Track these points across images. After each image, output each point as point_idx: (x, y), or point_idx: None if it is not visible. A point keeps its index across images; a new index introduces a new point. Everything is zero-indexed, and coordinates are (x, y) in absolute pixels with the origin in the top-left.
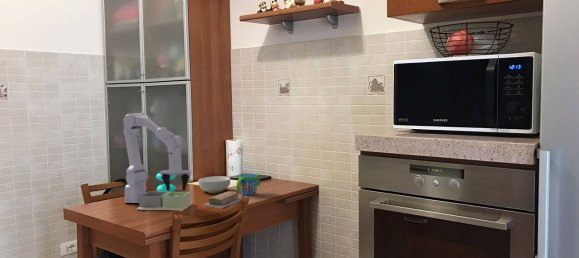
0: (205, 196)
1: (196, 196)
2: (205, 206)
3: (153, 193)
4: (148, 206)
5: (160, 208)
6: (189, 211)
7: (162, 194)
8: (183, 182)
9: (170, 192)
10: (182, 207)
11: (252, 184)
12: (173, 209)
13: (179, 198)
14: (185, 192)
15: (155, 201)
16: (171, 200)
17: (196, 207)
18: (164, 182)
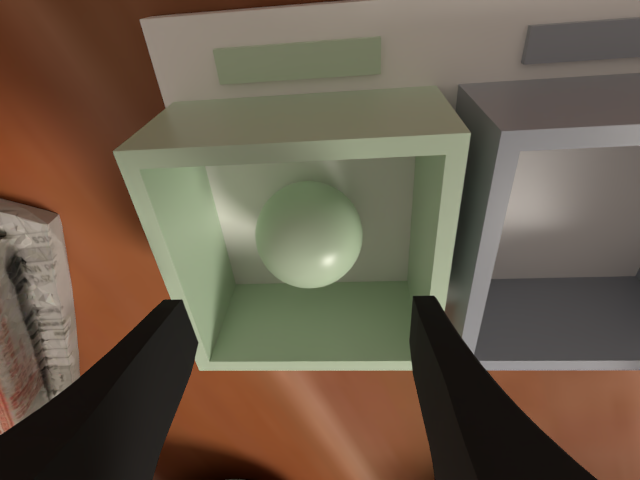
0: (241, 434)
1: (299, 434)
2: (44, 211)
3: (636, 345)
4: (635, 74)
5: (446, 10)
6: (63, 8)
7: (516, 336)
8: (73, 403)
9: None
10: (185, 93)
11: None
12: (261, 7)
13: (186, 138)
14: (246, 357)
15: (561, 100)
16: (313, 120)
17: (110, 183)
18: (517, 406)
